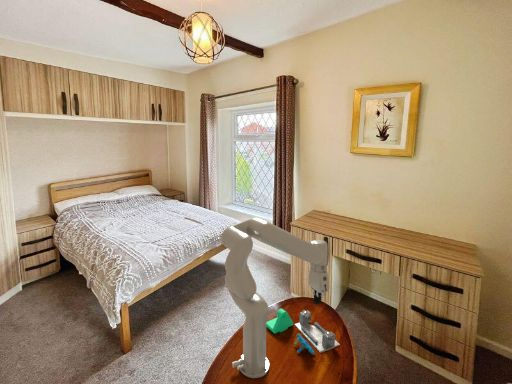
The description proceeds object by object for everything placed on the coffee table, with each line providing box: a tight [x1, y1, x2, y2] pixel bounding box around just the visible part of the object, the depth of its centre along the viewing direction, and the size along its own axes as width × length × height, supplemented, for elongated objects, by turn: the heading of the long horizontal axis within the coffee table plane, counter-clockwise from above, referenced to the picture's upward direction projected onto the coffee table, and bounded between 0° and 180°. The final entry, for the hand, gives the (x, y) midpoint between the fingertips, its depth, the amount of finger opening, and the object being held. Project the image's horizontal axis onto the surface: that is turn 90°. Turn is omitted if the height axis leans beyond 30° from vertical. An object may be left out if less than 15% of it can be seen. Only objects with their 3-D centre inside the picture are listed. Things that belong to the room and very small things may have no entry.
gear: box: [293, 333, 315, 355], centre depth 117 cm, size 11×6×10 cm
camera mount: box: [266, 308, 294, 334], centre depth 134 cm, size 12×8×10 cm, turn 124°
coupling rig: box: [294, 309, 340, 354], centre depth 128 cm, size 11×21×7 cm, turn 24°
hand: (317, 302), depth 127 cm, fingers closed
